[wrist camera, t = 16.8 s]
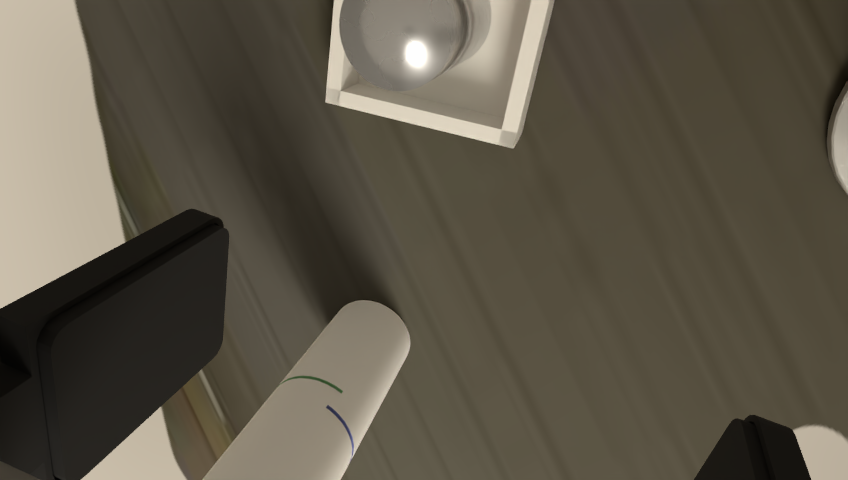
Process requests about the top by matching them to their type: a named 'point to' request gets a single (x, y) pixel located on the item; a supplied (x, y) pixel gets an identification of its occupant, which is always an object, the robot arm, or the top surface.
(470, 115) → the caddy
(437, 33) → the metal canister
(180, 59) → the top surface
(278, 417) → the cylindrical container
